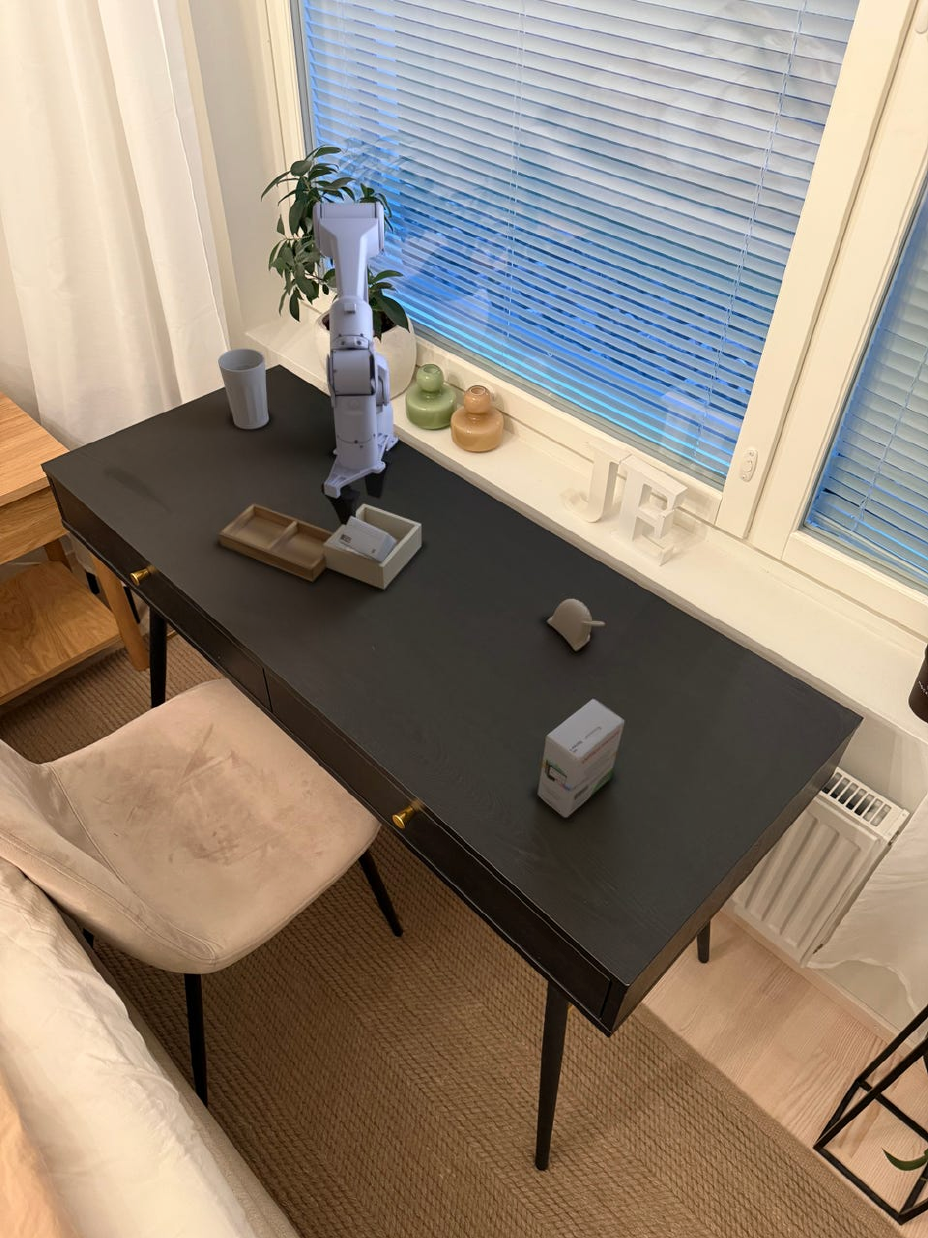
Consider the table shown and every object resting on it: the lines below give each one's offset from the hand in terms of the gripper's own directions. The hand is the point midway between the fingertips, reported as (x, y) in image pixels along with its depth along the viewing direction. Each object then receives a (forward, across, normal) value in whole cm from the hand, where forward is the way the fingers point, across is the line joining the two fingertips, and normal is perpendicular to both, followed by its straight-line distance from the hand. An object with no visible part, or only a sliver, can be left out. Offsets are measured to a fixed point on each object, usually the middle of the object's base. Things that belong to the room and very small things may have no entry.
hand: (361, 509), depth 133 cm
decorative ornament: (+9, -1, -35) cm, 36 cm away
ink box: (+8, -25, -45) cm, 52 cm away
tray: (+8, -5, +12) cm, 15 cm away
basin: (+8, 0, -2) cm, 9 cm away
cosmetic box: (+6, 0, -2) cm, 6 cm away
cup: (+9, +22, +38) cm, 44 cm away
